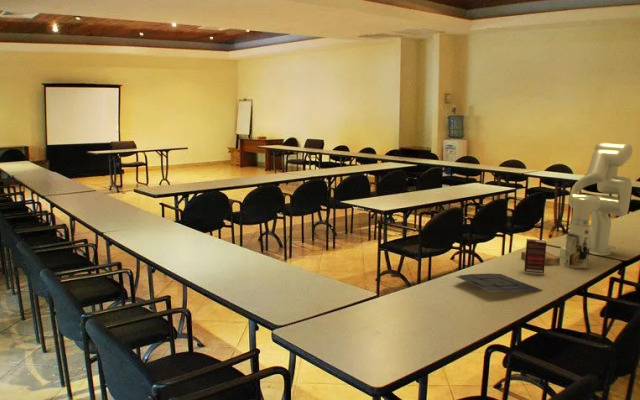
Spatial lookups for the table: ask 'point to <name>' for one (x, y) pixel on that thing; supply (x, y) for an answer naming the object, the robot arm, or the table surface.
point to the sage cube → (562, 252)
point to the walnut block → (546, 259)
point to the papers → (497, 283)
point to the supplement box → (535, 256)
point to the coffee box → (574, 253)
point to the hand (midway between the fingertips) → (576, 256)
